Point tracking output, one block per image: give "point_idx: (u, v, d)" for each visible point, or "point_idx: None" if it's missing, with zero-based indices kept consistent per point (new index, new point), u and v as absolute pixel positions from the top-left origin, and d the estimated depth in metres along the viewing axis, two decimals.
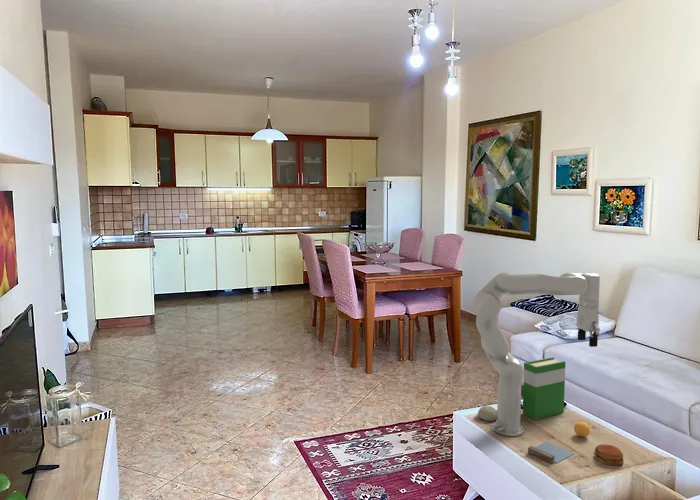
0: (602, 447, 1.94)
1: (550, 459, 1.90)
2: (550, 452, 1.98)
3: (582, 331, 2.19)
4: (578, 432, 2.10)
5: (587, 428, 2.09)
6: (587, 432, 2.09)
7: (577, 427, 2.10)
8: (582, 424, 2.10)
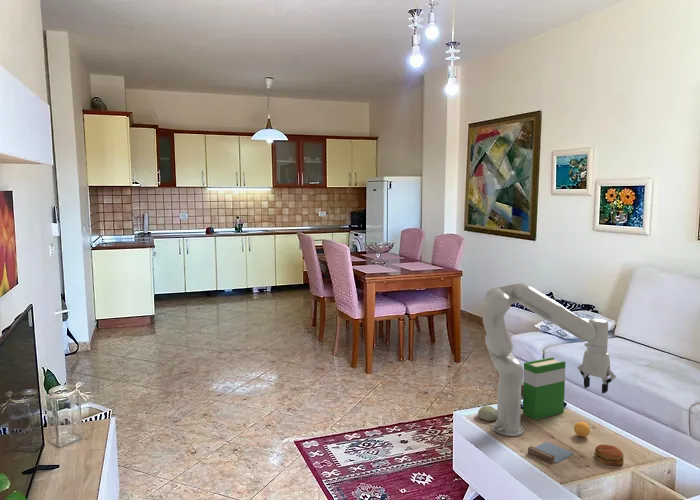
0: (602, 447, 1.94)
1: (550, 459, 1.90)
2: (550, 452, 1.98)
3: (588, 378, 2.18)
4: (578, 432, 2.10)
5: (587, 428, 2.09)
6: (587, 432, 2.09)
7: (577, 427, 2.10)
8: (582, 424, 2.10)
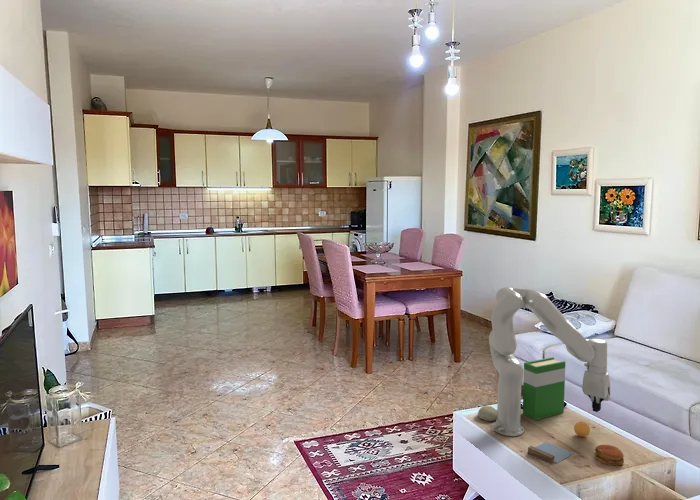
0: (602, 447, 1.93)
1: (550, 459, 1.90)
2: (550, 452, 1.98)
3: None
4: (578, 432, 2.10)
5: (587, 428, 2.09)
6: (587, 432, 2.09)
7: (577, 427, 2.10)
8: (582, 424, 2.10)
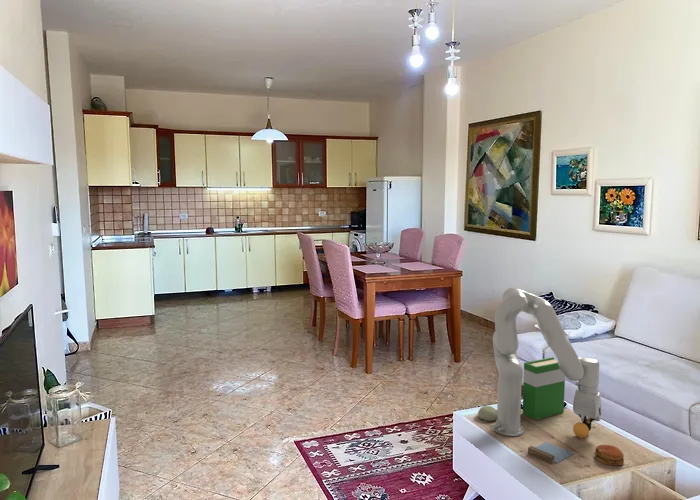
0: (602, 447, 1.93)
1: (550, 459, 1.90)
2: (550, 452, 1.98)
3: (586, 421, 2.13)
4: (577, 434, 2.09)
5: (586, 429, 2.08)
6: (586, 433, 2.08)
7: (576, 429, 2.09)
8: (580, 426, 2.09)
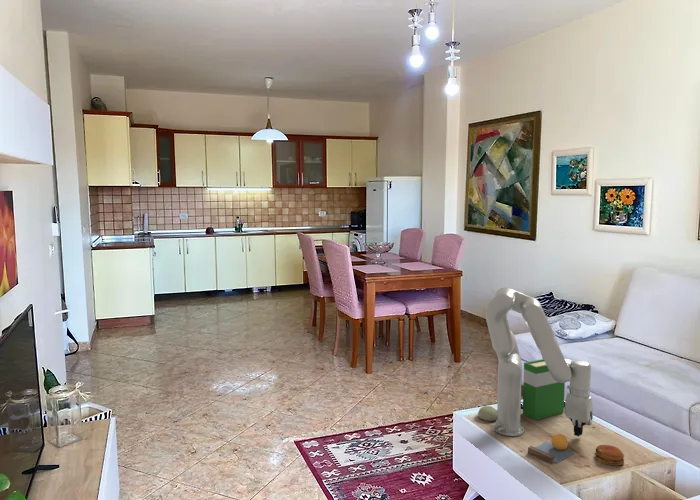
0: (603, 447, 1.93)
1: (550, 459, 1.90)
2: (550, 452, 1.98)
3: None
4: (556, 440, 1.99)
5: (566, 440, 1.99)
6: (565, 443, 1.98)
7: (556, 435, 2.00)
8: (562, 435, 2.00)
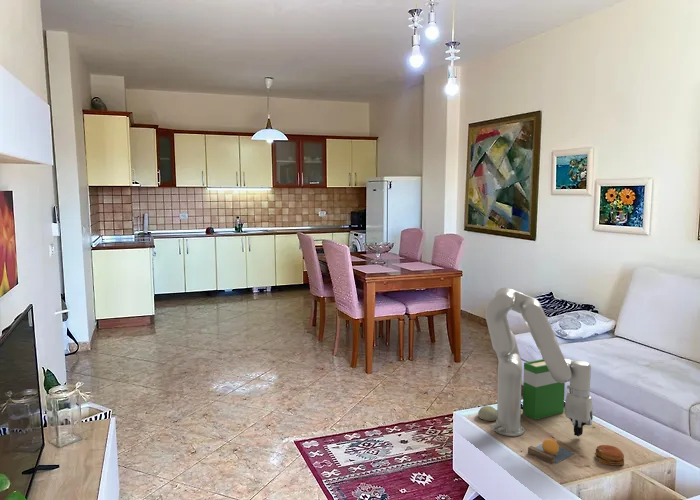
0: (603, 447, 1.93)
1: (550, 459, 1.90)
2: None
3: None
4: None
5: (554, 451, 1.94)
6: (557, 452, 1.95)
7: None
8: (548, 452, 1.95)
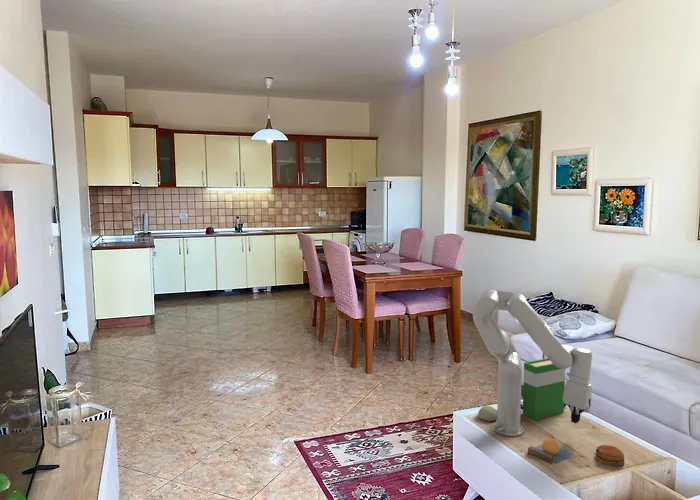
0: (603, 448, 1.93)
1: (550, 459, 1.90)
2: None
3: (575, 412, 2.09)
4: None
5: (554, 451, 1.94)
6: (557, 452, 1.95)
7: None
8: (548, 452, 1.95)
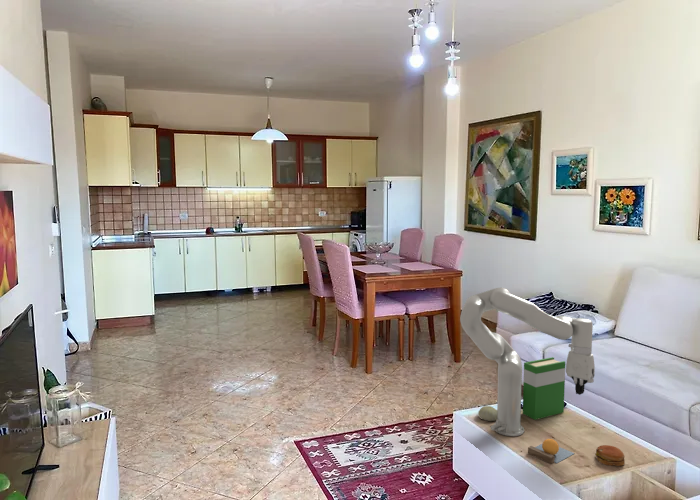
0: (603, 448, 1.93)
1: (550, 459, 1.90)
2: None
3: (579, 384, 2.08)
4: None
5: (554, 451, 1.94)
6: (557, 452, 1.95)
7: None
8: (548, 452, 1.95)
